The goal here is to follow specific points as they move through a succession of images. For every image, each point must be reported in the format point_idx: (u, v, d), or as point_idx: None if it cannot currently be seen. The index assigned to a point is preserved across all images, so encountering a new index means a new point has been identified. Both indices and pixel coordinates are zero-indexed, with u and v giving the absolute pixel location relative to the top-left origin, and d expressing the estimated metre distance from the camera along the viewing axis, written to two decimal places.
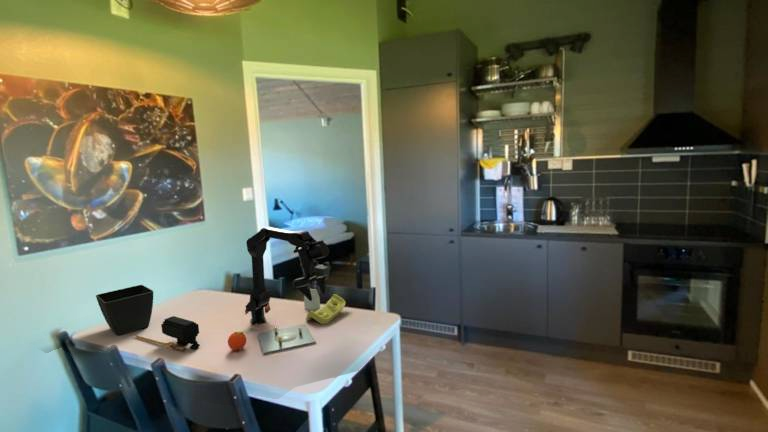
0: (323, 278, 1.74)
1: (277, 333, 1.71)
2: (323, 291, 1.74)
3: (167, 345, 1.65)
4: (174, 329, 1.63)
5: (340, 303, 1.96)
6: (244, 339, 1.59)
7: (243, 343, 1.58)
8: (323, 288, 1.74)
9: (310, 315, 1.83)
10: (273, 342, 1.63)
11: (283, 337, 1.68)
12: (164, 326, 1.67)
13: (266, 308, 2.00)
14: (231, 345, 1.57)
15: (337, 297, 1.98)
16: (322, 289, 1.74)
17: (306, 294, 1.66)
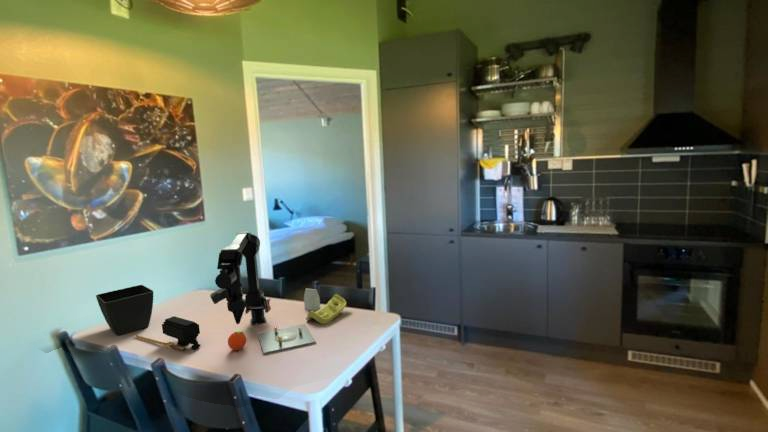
0: None
1: (277, 333, 1.71)
2: None
3: (167, 345, 1.65)
4: (175, 329, 1.63)
5: (341, 303, 1.96)
6: (244, 339, 1.59)
7: (243, 343, 1.58)
8: None
9: (310, 315, 1.83)
10: (273, 342, 1.63)
11: (283, 337, 1.68)
12: (165, 326, 1.66)
13: (266, 308, 2.00)
14: (231, 345, 1.57)
15: (338, 297, 1.98)
16: None
17: None
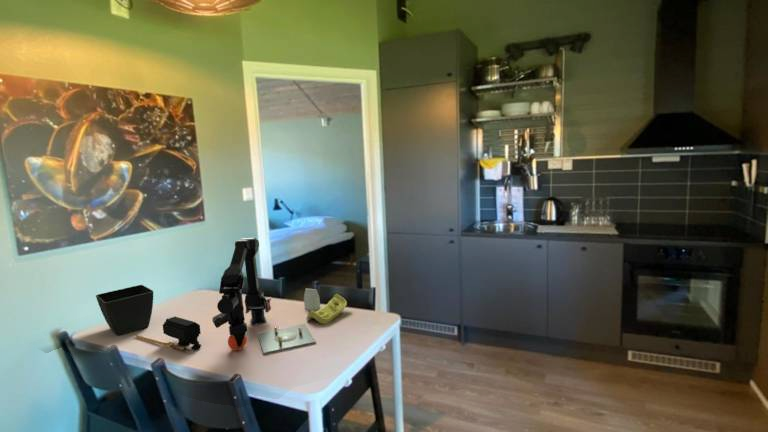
0: None
1: (277, 333, 1.71)
2: None
3: (167, 345, 1.65)
4: (175, 329, 1.62)
5: (341, 303, 1.96)
6: (244, 339, 1.59)
7: (243, 343, 1.58)
8: None
9: (310, 315, 1.83)
10: (273, 342, 1.63)
11: (283, 337, 1.68)
12: (165, 326, 1.66)
13: (267, 308, 2.01)
14: (231, 345, 1.57)
15: (339, 297, 1.98)
16: None
17: None
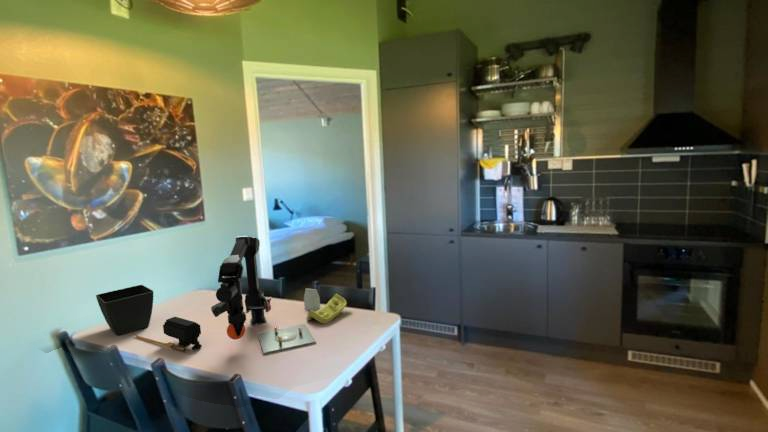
0: None
1: (277, 333, 1.71)
2: None
3: (167, 345, 1.65)
4: (176, 330, 1.62)
5: (341, 303, 1.96)
6: (243, 328, 1.58)
7: (242, 332, 1.58)
8: None
9: (311, 315, 1.83)
10: (273, 342, 1.63)
11: (283, 337, 1.68)
12: (166, 327, 1.66)
13: None
14: (230, 334, 1.56)
15: (338, 297, 1.98)
16: None
17: None
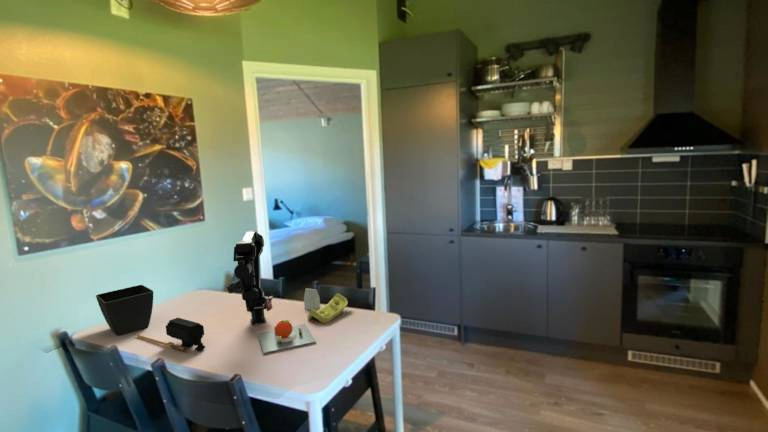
0: None
1: None
2: None
3: (167, 345, 1.65)
4: (179, 331, 1.61)
5: (342, 302, 1.97)
6: (290, 327, 1.66)
7: (290, 331, 1.65)
8: None
9: (311, 314, 1.84)
10: (273, 342, 1.63)
11: None
12: (169, 328, 1.65)
13: (268, 306, 2.02)
14: (279, 333, 1.64)
15: (340, 296, 1.99)
16: None
17: None
